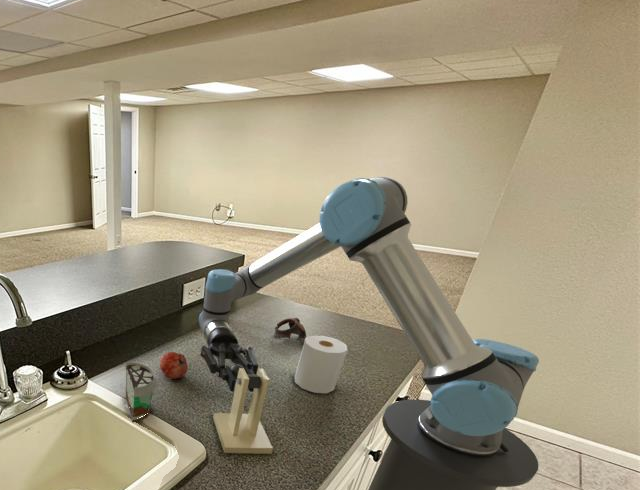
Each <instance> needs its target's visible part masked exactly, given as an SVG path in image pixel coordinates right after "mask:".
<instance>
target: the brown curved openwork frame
mask: <svg viewBox="0 0 640 490" xmlns="http://www.w3.org/2000/svg"><path fill="white" fill-rule="evenodd" d="M287 324H288V327H289V328H286V329H279V328H281V327H282V326H284V325H287ZM274 330H275V331H274V335H273V336H274V337H275V338H278V339H285V338H287V339H289V340H291V338H292V337H291V336H292V334H293V335H297V336H298V339H301V340H302V346H303V345H304V341H305V338H307V331H306V329H305V326H304V325H303V324H302V323H301V321H300V319H299V318H298V317H294V318H293V317H291V318H290V317H289V318H285V319H283V320H280V321H279V322H278V323H277V324H276V326H275V327H274Z"/></svg>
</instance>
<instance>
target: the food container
mask: <svg viewBox="0 0 640 490" xmlns="http://www.w3.org/2000/svg"><path fill="white" fill-rule="evenodd" d="M157 385H158V381H157V376H156V374H155V372H154V370H153V369H152V368H151V367H149V366H147V365H145V364H142V363H140V362H139V363H138V362H133V361H131V362H130V361H127V362H126V363H125V402H126V405H127V409H128V413H129V415H130V420H131V423H137V422H141V421H143V420H145V419H146V418H147V417H148V416H149V415H150V412H151V405H152V399H153V395H154V391H155V389H156V388H157ZM129 407H130V408H129ZM147 413H148V414H147ZM145 414H146V415H145ZM144 415H145V416H144ZM141 416H143V417H141ZM139 417H141V418H139ZM137 418H138V419H137Z"/></svg>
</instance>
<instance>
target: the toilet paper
mask: <svg viewBox="0 0 640 490" xmlns="http://www.w3.org/2000/svg"><path fill="white" fill-rule="evenodd" d="M347 353H348V346H347V344H346V343H344V342H343V341H341V340H340V339H337V338H333V337H330V336H327V335H310V336H306V338H305V341H304V345H303V344H302V349H301V352H300V355H299V360H298V363H297V366H296V371H295V374H294V383H295V384H296V385H297V386H298V387H300V388H301V389H302V390H306V391H308V392H311V393H314V394H329V393H331V392H333V391H335V389H336V385H337V383H338V380H339V377H340V374H341V371H342V369H343V365H344V362H345V360H346V357H347Z"/></svg>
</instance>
